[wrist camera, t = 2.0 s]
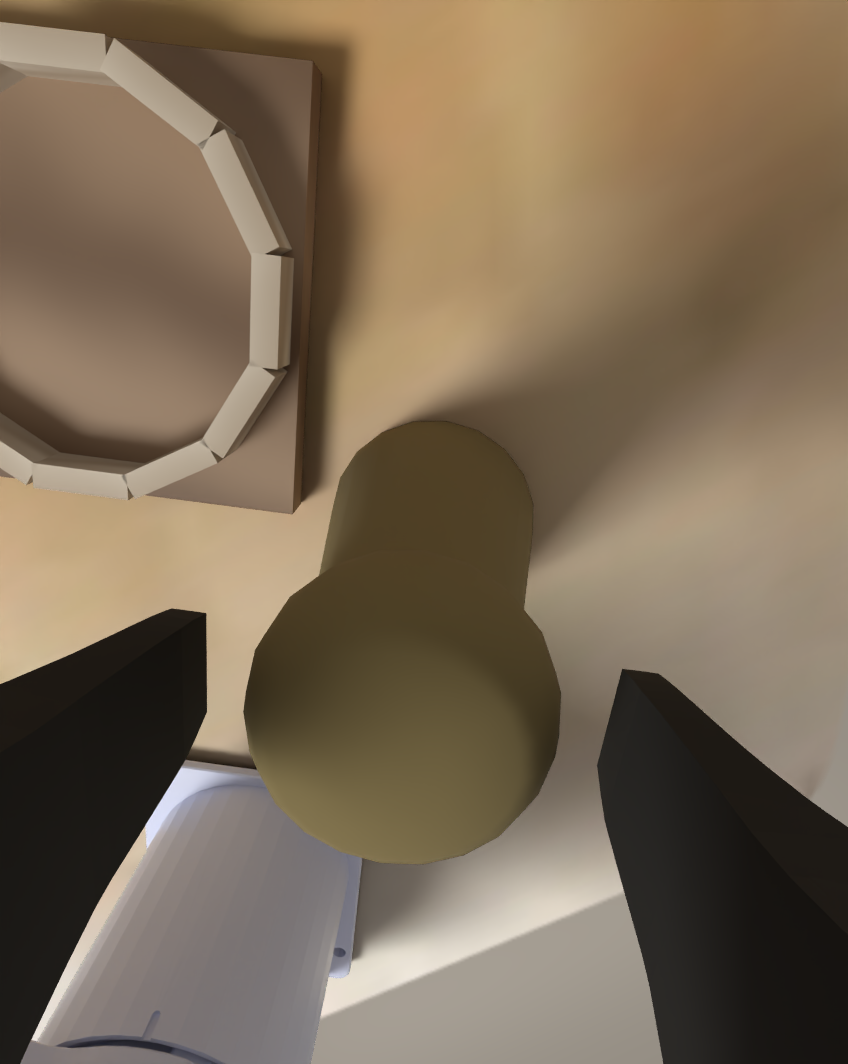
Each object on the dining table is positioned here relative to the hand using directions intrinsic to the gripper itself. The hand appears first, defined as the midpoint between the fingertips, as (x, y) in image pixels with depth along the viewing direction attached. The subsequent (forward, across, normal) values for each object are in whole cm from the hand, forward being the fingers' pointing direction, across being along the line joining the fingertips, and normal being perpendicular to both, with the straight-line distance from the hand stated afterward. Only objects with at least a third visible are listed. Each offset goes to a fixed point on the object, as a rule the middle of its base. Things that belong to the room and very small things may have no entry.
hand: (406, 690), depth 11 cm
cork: (+9, 0, 0) cm, 9 cm away
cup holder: (+9, +10, -5) cm, 14 cm away
